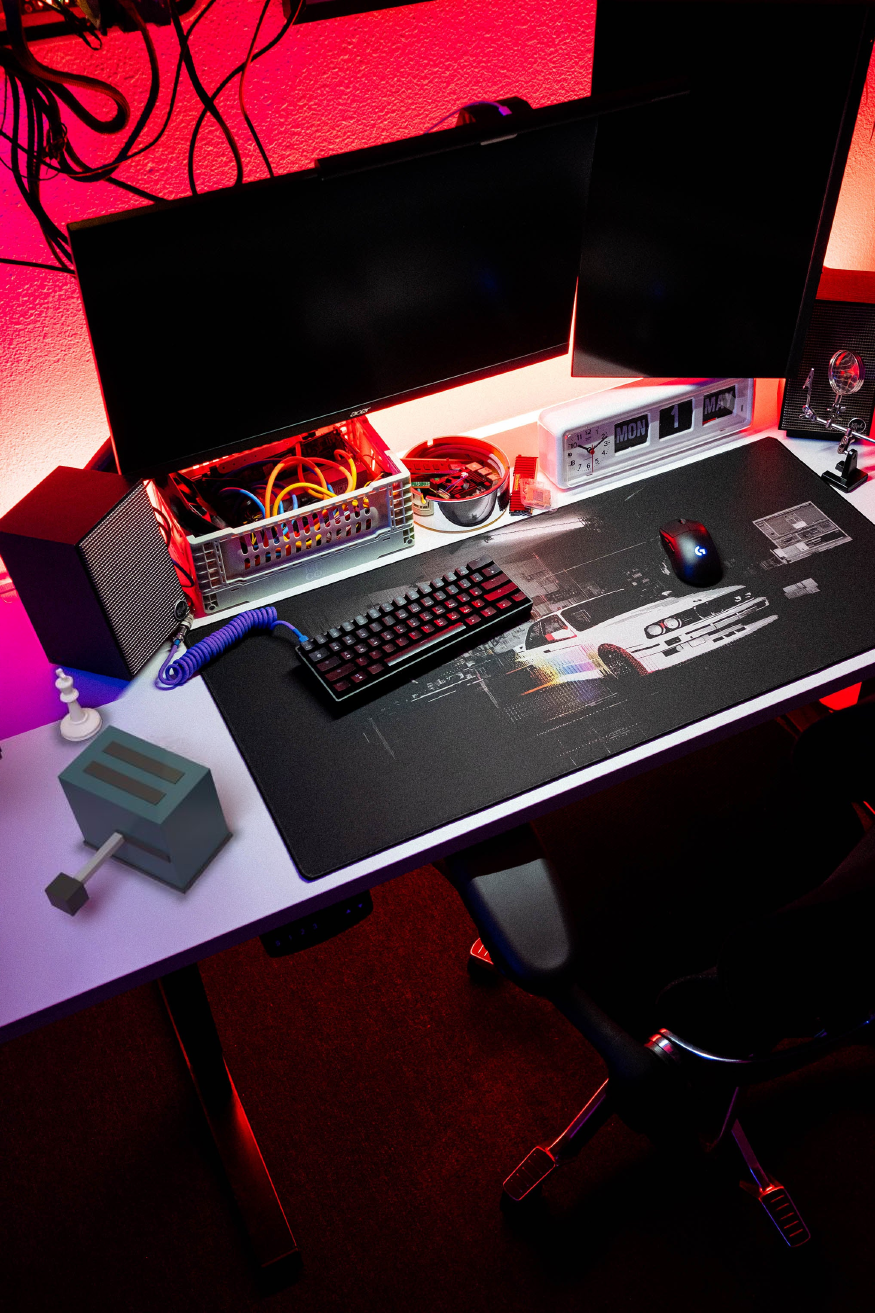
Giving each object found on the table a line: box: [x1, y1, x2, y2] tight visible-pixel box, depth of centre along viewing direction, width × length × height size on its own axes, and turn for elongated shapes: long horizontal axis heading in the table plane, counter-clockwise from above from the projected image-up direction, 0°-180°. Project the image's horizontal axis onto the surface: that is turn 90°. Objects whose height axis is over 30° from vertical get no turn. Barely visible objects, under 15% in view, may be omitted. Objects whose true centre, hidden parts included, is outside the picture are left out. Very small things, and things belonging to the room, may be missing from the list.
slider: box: [43, 832, 124, 917], centre depth 118 cm, size 9×3×3 cm, turn 153°
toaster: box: [57, 724, 234, 895], centre depth 124 cm, size 8×14×12 cm, turn 63°
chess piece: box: [55, 668, 103, 742], centre depth 138 cm, size 5×5×10 cm
